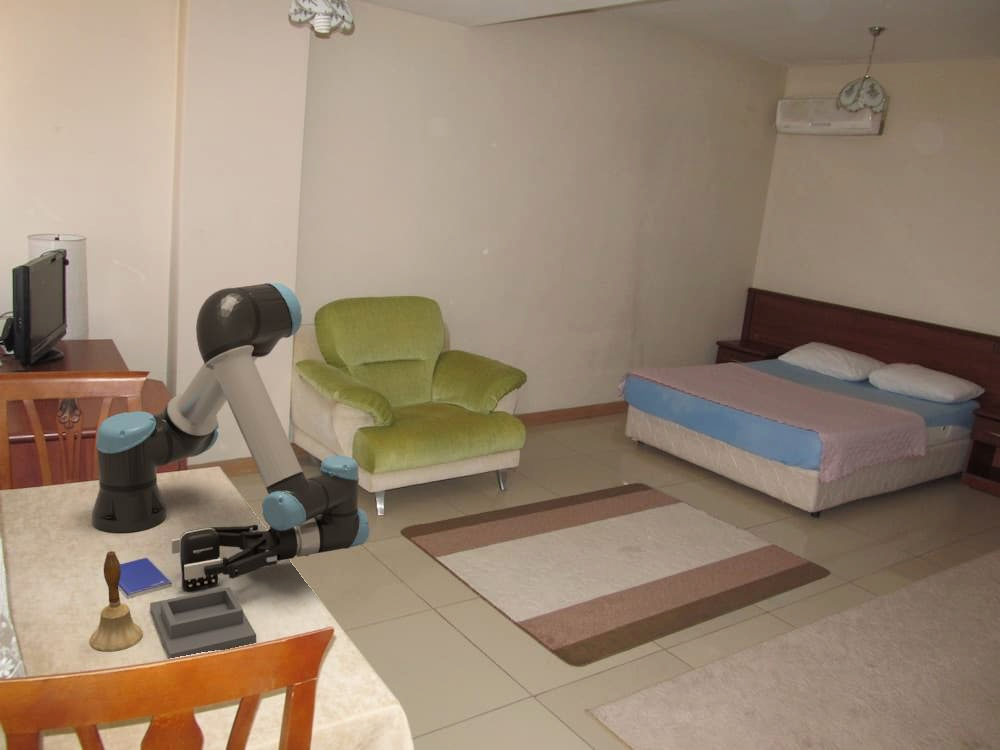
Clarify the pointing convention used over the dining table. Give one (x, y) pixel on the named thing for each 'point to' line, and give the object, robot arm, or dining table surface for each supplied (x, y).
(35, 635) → the dining table surface
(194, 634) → the dock
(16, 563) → the dining table surface
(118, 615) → the hand bell
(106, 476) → the robot arm
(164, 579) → the hard drive
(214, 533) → the battery charger
